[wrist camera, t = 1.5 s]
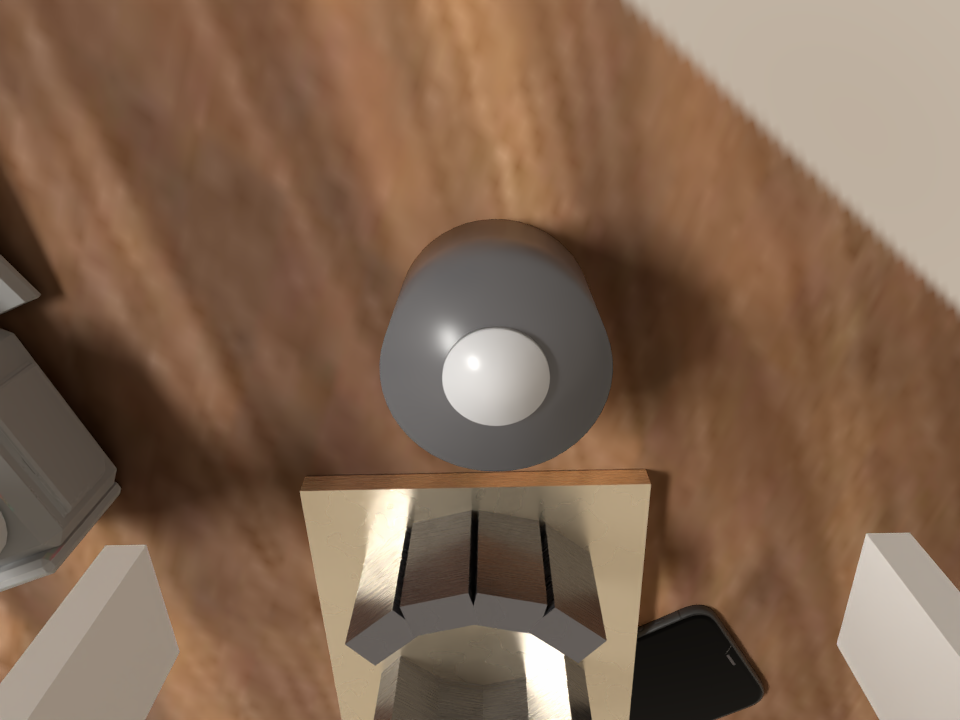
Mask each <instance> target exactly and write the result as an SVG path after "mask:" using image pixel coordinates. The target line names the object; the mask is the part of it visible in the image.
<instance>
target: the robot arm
mask: <svg viewBox="0 0 960 720" xmlns="http://www.w3.org/2000/svg"><path fill="white" fill-rule="evenodd" d="M837 646H838V647H839V649H840V651H841V653H842V655H843V656H844V658H845V660H846V662H847V663H848V665H849V667H850V669H851V670H852V672H853V674H854V676H855V677H856V679H857V681H858V683H859V684H860V686H861V688H862V690H863V691H864V693H865V695H866V697H867V699H868V700H869V702H870V704H871V706H872V707H873V709H874V711H875V713H876V714H877V716H878V718H879V720H960V592H959V591H958V589H957V588H956V587H955V586H954V585H953V583H952V582H951V581H950V580H949V579H948V578H947V576H946V575H945V574H944V573H943V572H942V570H941V569H940V568H939V567H938V566H937V565H936V563H935V562H934V561H933V560H932V559H931V557H930V556H929V555H928V554H927V553H926V551H925V550H924V549H923V548H922V547H921V546H920V544H919V543H918V542H917V541H916V540H915V538H914V537H913V536H912V535H911V534H910V533H866V536H865V540H864V544H863V548H862V551H861V555H860V559H859V563H858V566H857V570H856V574H855V578H854V581H853V585H852V589H851V593H850V596H849V600H848V604H847V608H846V611H845V615H844V619H843V623H842V626H841V630H840V634H839V638H838V641H837ZM179 652H180V651H179V648H178V645H177V642H176V639H175V635H174V632H173V629H172V626H171V623H170V619H169V616H168V613H167V610H166V607H165V603H164V600H163V597H162V594H161V591H160V587H159V584H158V581H157V578H156V574H155V571H154V568H153V565H152V562H151V558H150V555H149V552H148V549H147V546H146V545H106V546H105V547H104V548H103V549H102V551H101V552H100V553H99V555H98V556H97V557H96V559H95V560H94V561H93V563H92V564H91V565H90V567H89V568H88V569H87V571H86V572H85V573H84V574H83V576H82V577H81V578H80V580H79V581H78V582H77V584H76V585H75V586H74V588H73V589H72V590H71V592H70V593H69V594H68V595H67V597H66V598H65V599H64V601H63V602H62V603H61V605H60V606H59V607H58V609H57V610H56V611H55V613H54V614H53V615H52V617H51V618H50V619H49V620H48V622H47V623H46V624H45V626H44V627H43V628H42V630H41V631H40V632H39V634H38V635H37V636H36V638H35V639H34V640H33V642H32V643H31V644H30V645H29V647H28V648H27V649H26V651H25V652H24V653H23V655H22V656H21V657H20V659H19V660H18V661H17V663H16V664H15V665H14V666H13V668H12V669H11V670H10V672H9V673H8V674H7V676H6V677H5V678H4V680H3V681H2V682H1V684H0V720H145V719H146V717H147V715H148V713H149V711H150V709H151V707H152V705H153V703H154V701H155V699H156V697H157V695H158V693H159V691H160V689H161V687H162V685H163V683H164V681H165V679H166V677H167V675H168V673H169V672H170V670H171V668H172V666H173V664H174V662H175V660H176V658H177V656H178V654H179Z"/></svg>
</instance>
